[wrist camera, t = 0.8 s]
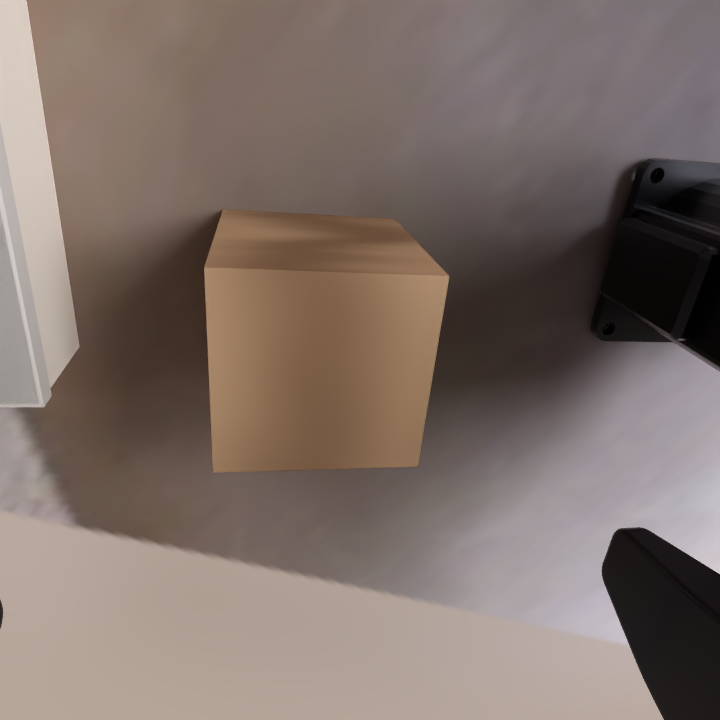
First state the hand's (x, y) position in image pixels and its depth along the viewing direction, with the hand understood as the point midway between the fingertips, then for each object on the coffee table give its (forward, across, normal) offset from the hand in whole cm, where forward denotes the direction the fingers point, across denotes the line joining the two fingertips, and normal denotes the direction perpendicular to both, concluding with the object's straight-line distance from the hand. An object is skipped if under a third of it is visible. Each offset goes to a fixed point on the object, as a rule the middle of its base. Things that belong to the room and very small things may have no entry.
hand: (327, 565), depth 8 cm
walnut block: (+12, 0, 0) cm, 12 cm away
